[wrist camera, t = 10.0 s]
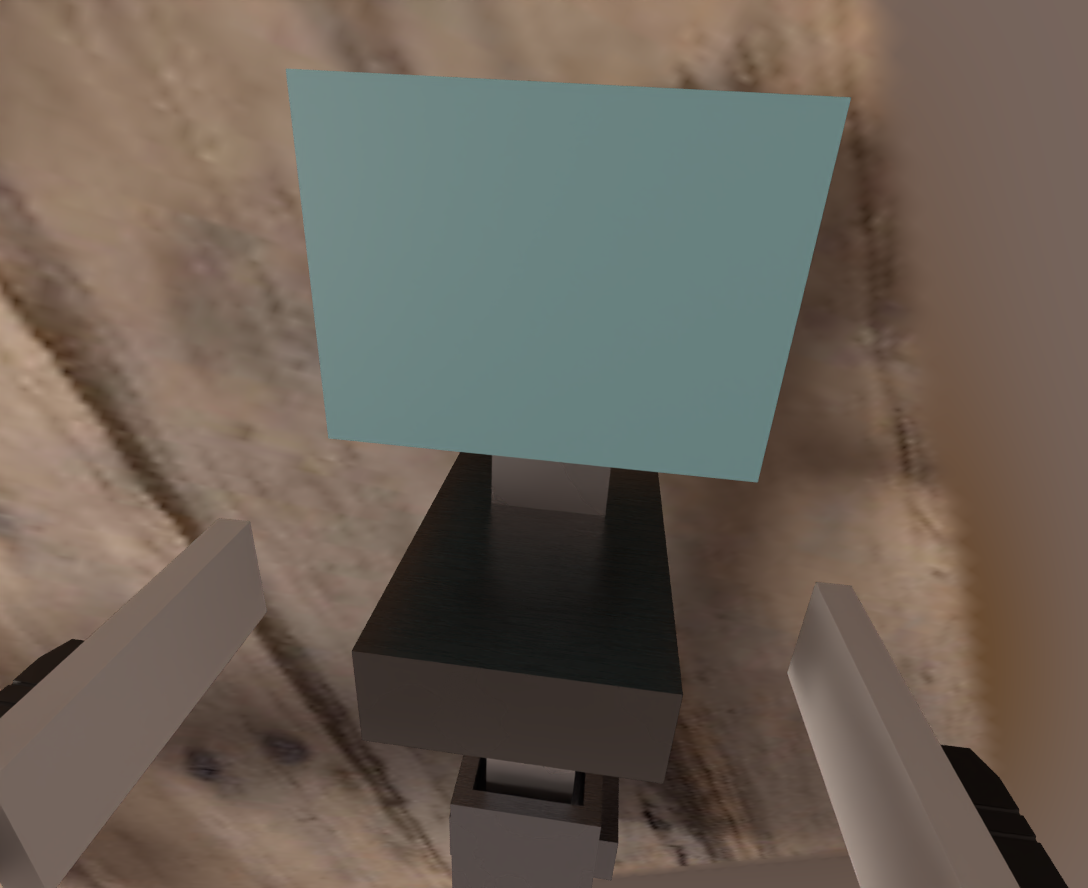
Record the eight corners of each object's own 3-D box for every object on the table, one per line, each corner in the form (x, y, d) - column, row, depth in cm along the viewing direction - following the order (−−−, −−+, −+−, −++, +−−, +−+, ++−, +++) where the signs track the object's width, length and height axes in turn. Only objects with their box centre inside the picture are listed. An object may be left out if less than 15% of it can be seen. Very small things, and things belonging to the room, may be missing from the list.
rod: (601, 801, 27) (590, 1115, 18) (472, 782, 28) (401, 1078, 19) (688, 224, 16) (767, 307, 7) (473, 209, 17) (306, 270, 8)
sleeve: (610, 821, 33) (606, 1023, 25) (466, 799, 33) (420, 990, 26) (640, 642, 27) (647, 834, 19) (466, 620, 28) (406, 797, 20)
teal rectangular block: (693, 325, 21) (757, 482, 11) (464, 306, 21) (328, 438, 11) (725, 129, 18) (851, 97, 8) (464, 114, 19) (285, 69, 9)
